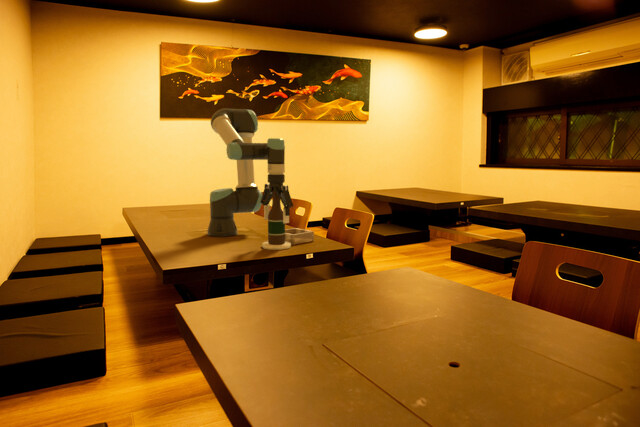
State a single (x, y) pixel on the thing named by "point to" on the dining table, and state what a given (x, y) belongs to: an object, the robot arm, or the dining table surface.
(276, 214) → the beer bottle
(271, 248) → the ceramic plate
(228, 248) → the dining table surface
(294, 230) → the box
